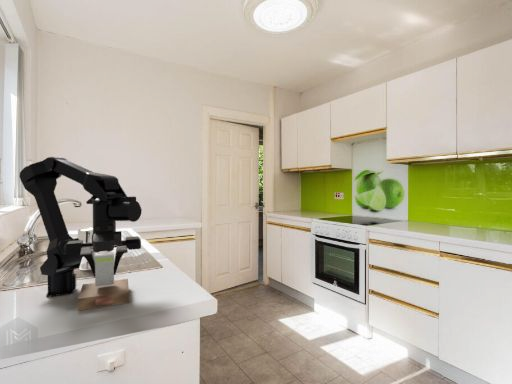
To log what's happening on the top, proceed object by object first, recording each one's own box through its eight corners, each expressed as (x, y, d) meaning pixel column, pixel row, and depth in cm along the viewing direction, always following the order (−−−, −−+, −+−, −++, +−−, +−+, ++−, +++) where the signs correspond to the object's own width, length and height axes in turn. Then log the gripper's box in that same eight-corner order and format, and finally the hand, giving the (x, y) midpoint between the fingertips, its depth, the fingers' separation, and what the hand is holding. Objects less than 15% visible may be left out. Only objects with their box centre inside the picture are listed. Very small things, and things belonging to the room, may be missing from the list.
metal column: (95, 286, 79) (95, 257, 79) (96, 281, 83) (96, 253, 83) (113, 284, 81) (113, 255, 81) (114, 279, 85) (113, 252, 85)
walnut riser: (77, 311, 74) (77, 299, 74) (82, 294, 85) (82, 284, 85) (129, 302, 79) (129, 292, 79) (127, 288, 90) (127, 278, 90)
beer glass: (79, 266, 113) (78, 228, 113) (99, 265, 116) (99, 227, 116) (76, 271, 107) (75, 231, 107) (97, 269, 110) (97, 230, 109)
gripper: (59, 225, 70) (60, 289, 71) (142, 222, 78) (142, 279, 79) (66, 220, 80) (67, 276, 81) (139, 217, 88) (139, 268, 89)
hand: (104, 275), depth 82 cm, fingers closed on metal column, 4 cm apart
